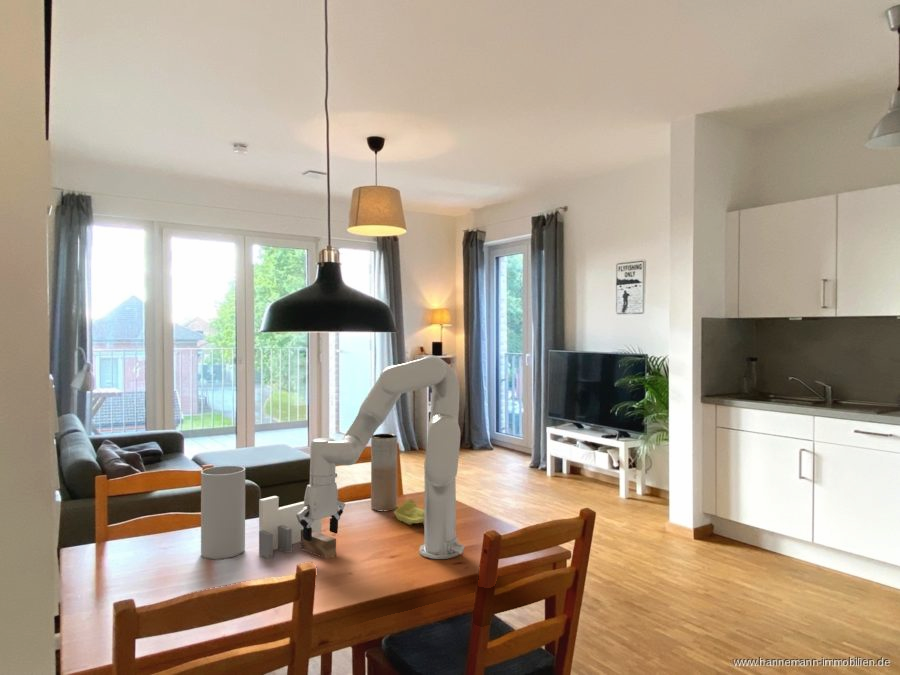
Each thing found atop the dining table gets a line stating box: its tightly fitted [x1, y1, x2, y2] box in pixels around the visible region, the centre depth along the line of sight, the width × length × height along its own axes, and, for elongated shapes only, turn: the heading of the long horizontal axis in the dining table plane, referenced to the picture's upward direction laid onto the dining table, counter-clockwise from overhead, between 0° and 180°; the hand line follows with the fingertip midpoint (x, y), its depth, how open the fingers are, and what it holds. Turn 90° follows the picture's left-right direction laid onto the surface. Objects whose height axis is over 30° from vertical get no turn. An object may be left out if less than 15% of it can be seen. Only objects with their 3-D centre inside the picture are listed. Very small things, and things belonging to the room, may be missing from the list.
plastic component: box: [393, 499, 424, 526], centre depth 206 cm, size 20×7×10 cm
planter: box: [370, 433, 398, 512], centre depth 224 cm, size 10×10×28 cm
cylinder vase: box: [200, 465, 246, 560], centre depth 177 cm, size 12×12×25 cm
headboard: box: [258, 495, 322, 559], centre depth 183 cm, size 7×23×16 cm, turn 140°
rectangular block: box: [300, 529, 337, 559], centre depth 177 cm, size 13×4×6 cm, turn 50°
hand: (320, 536), depth 176 cm, fingers open, 9 cm apart
